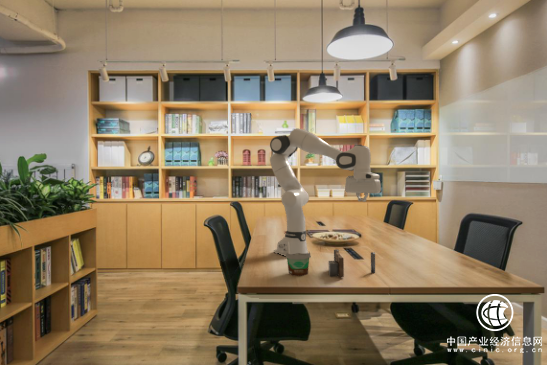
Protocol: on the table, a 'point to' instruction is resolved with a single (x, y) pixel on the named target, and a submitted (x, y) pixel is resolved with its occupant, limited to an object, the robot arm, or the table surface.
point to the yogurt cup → (298, 263)
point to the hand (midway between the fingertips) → (362, 201)
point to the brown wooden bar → (340, 263)
